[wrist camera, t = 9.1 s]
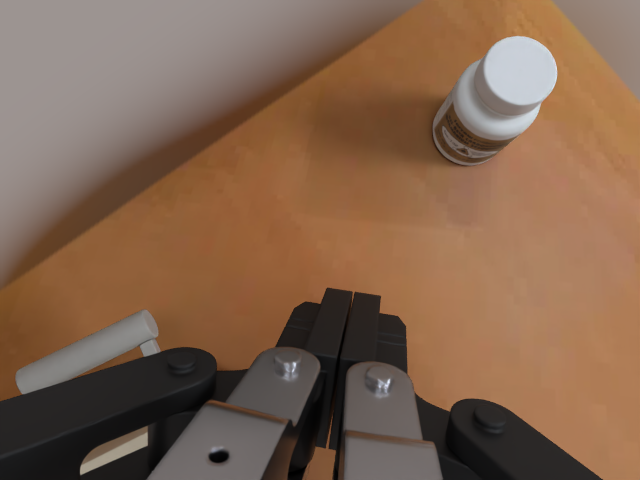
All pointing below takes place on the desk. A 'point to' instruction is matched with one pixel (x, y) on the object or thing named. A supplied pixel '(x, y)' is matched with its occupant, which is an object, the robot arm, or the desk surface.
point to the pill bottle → (494, 100)
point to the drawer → (89, 356)
